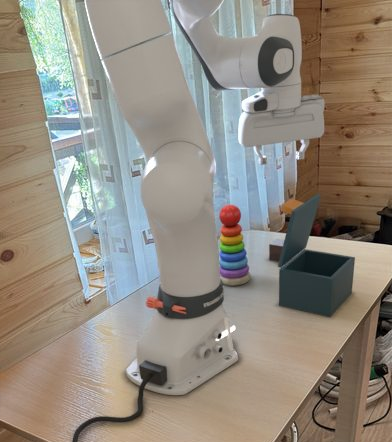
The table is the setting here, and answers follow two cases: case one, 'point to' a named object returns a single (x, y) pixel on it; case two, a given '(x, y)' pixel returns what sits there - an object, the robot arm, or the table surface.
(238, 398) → the table surface
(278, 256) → the block
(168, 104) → the robot arm
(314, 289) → the dark teal box
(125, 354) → the table surface
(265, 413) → the table surface
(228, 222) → the stacking toy
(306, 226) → the lid
